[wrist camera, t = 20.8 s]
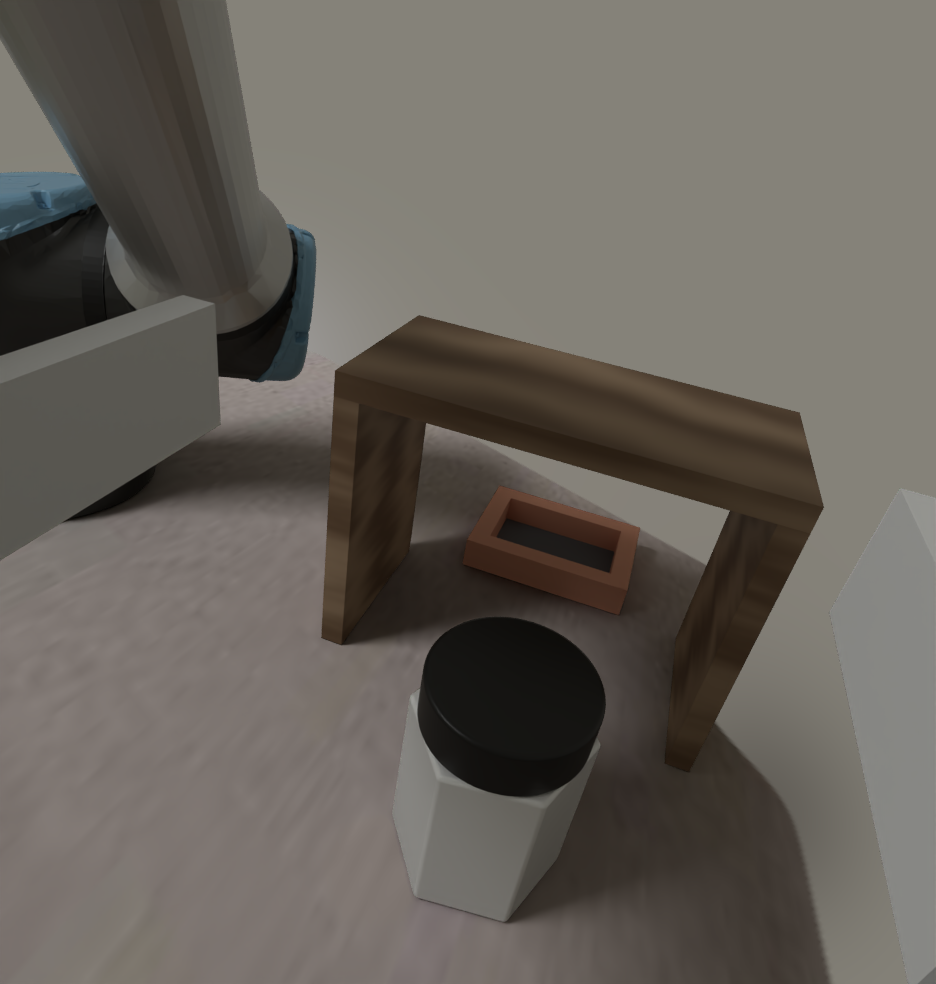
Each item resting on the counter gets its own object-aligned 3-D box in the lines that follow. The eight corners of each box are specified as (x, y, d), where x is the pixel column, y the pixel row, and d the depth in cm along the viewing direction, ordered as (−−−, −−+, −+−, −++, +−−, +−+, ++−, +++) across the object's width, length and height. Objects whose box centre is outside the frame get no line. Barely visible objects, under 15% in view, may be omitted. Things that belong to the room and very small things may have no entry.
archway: (689, 772, 42) (823, 507, 31) (321, 637, 46) (335, 370, 36) (695, 644, 52) (799, 412, 41) (392, 545, 56) (419, 315, 46)
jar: (561, 791, 39) (616, 639, 33) (550, 940, 32) (617, 783, 26) (411, 751, 40) (437, 595, 34) (368, 889, 33) (390, 725, 27)
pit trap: (618, 615, 53) (627, 590, 52) (462, 564, 56) (467, 539, 54) (632, 550, 61) (640, 527, 60) (494, 508, 64) (499, 485, 62)
